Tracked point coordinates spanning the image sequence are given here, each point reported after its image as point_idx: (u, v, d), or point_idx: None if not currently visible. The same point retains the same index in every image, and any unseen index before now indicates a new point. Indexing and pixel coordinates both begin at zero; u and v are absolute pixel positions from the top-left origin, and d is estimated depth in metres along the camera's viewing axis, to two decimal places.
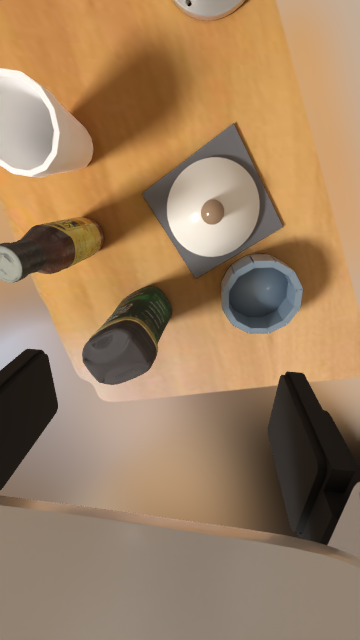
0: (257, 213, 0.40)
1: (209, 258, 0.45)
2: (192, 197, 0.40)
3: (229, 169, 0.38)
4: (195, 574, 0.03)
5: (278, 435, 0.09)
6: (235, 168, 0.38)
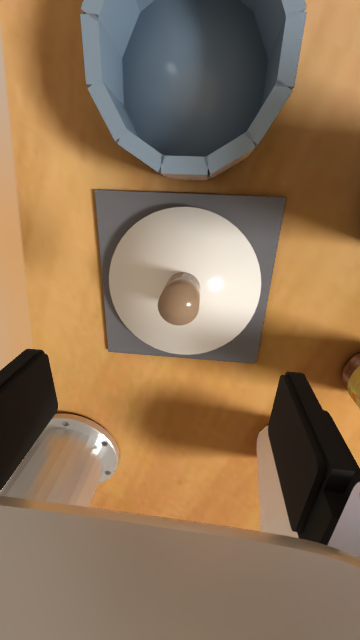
0: (122, 241, 0.23)
1: (235, 218, 0.23)
2: (198, 322, 0.26)
3: (133, 319, 0.26)
4: (194, 574, 0.03)
5: (278, 435, 0.09)
6: (125, 314, 0.26)
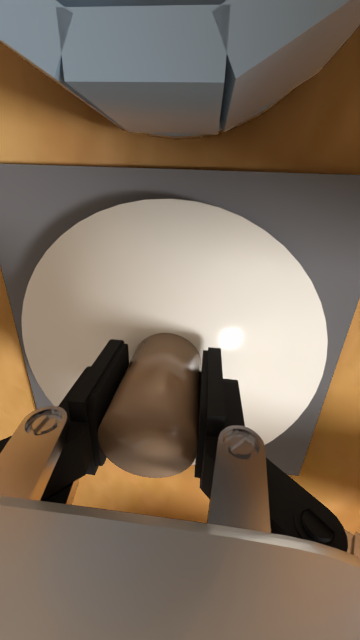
0: (38, 272, 0.11)
1: (279, 224, 0.10)
2: None
3: None
4: (194, 573, 0.03)
5: None
6: None
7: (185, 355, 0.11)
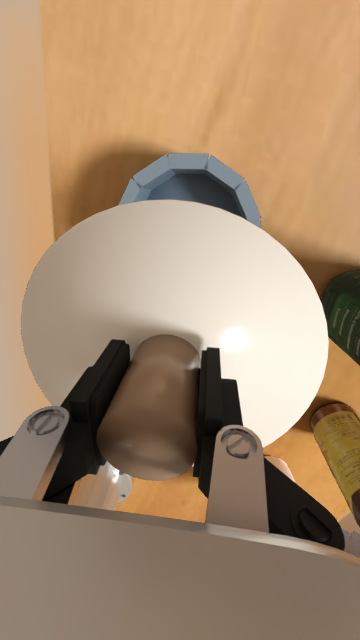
0: (38, 273, 0.11)
1: None
2: None
3: None
4: (194, 573, 0.03)
5: None
6: None
7: (185, 357, 0.11)
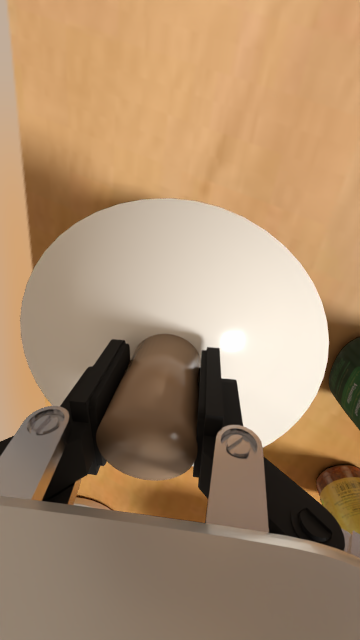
0: (37, 272, 0.11)
1: None
2: None
3: None
4: (194, 573, 0.03)
5: None
6: None
7: (185, 356, 0.11)
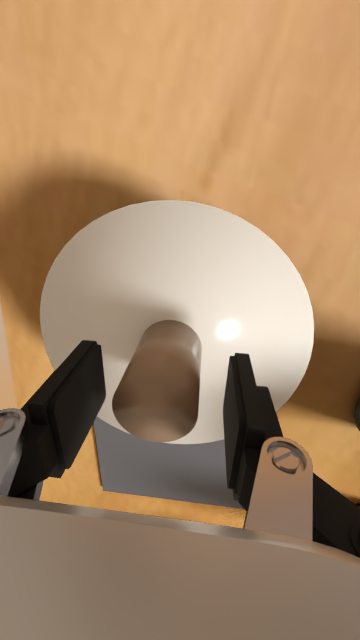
0: (56, 265, 0.13)
1: None
2: None
3: None
4: (195, 573, 0.03)
5: (226, 410, 0.10)
6: None
7: (187, 338, 0.12)
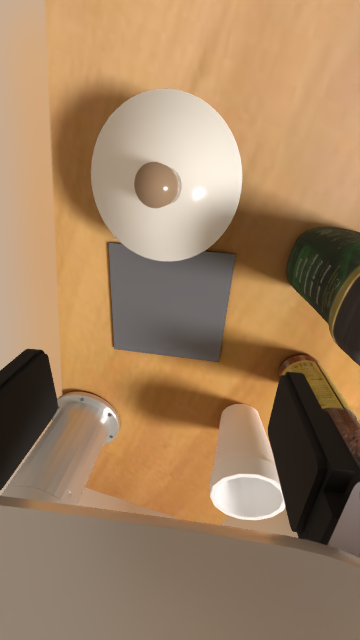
0: (103, 130, 0.23)
1: (202, 265, 0.34)
2: (179, 224, 0.26)
3: (115, 221, 0.26)
4: (195, 573, 0.03)
5: (278, 435, 0.09)
6: (108, 216, 0.26)
7: (172, 169, 0.23)
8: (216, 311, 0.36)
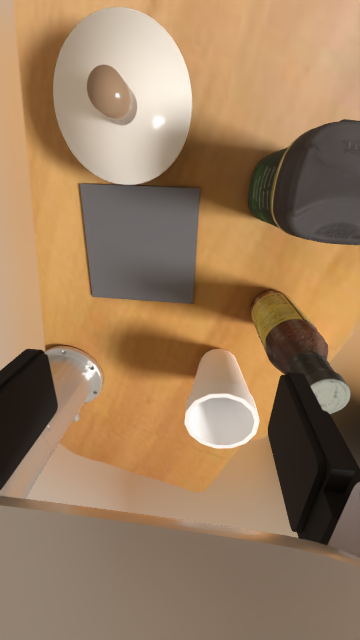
0: (62, 52, 0.25)
1: (169, 202, 0.35)
2: (138, 145, 0.28)
3: (79, 145, 0.28)
4: (195, 573, 0.03)
5: (278, 435, 0.09)
6: (72, 140, 0.28)
7: None
8: (186, 249, 0.38)
